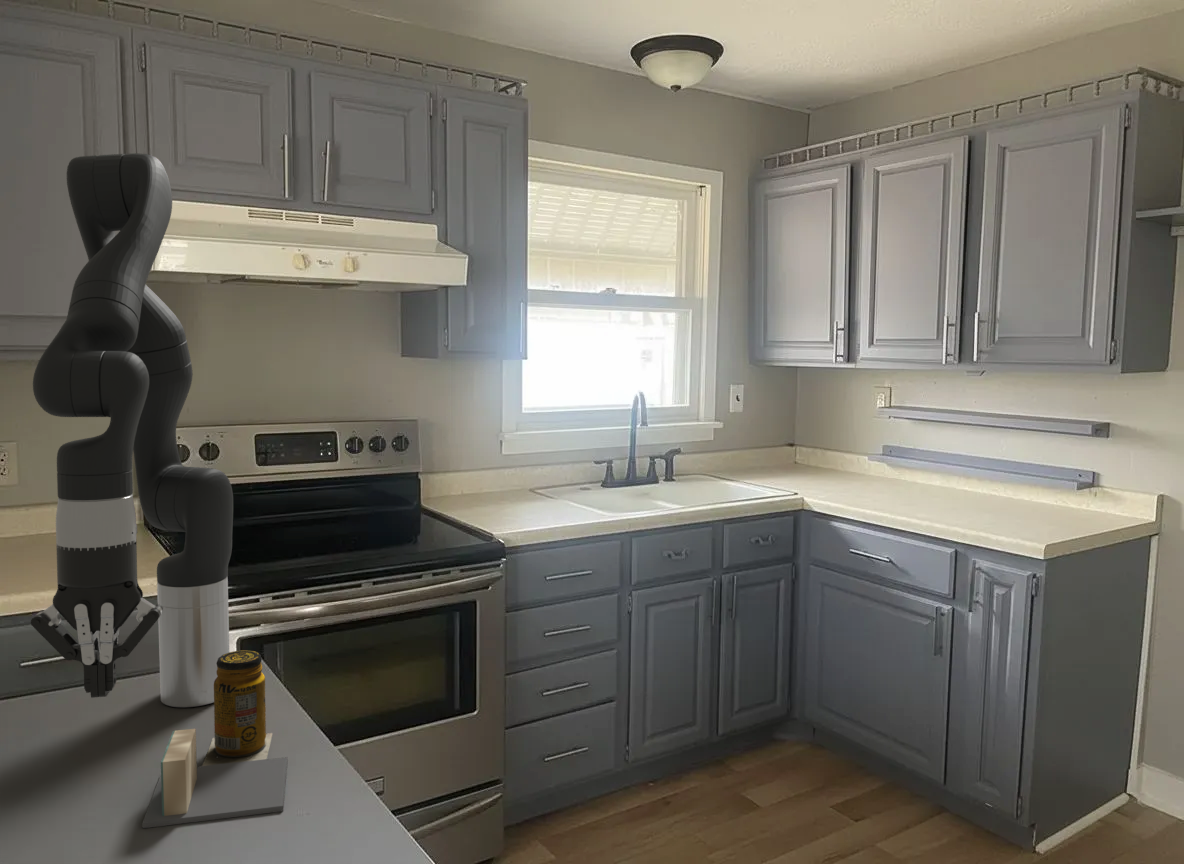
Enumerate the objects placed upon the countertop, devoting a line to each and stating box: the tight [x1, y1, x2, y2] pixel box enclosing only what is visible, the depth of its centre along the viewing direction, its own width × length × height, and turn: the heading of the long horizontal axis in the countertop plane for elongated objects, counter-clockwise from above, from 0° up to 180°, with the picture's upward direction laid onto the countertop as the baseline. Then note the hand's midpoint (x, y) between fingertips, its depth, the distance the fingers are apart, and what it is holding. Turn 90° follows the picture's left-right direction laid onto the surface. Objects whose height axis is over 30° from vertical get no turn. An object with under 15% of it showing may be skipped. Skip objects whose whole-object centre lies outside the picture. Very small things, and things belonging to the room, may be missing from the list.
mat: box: [142, 756, 289, 829], centre depth 102 cm, size 12×14×1 cm
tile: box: [160, 728, 198, 816], centre depth 99 cm, size 2×6×8 cm
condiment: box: [201, 649, 273, 766], centre depth 112 cm, size 7×8×12 cm
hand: (101, 694), depth 97 cm, fingers closed
